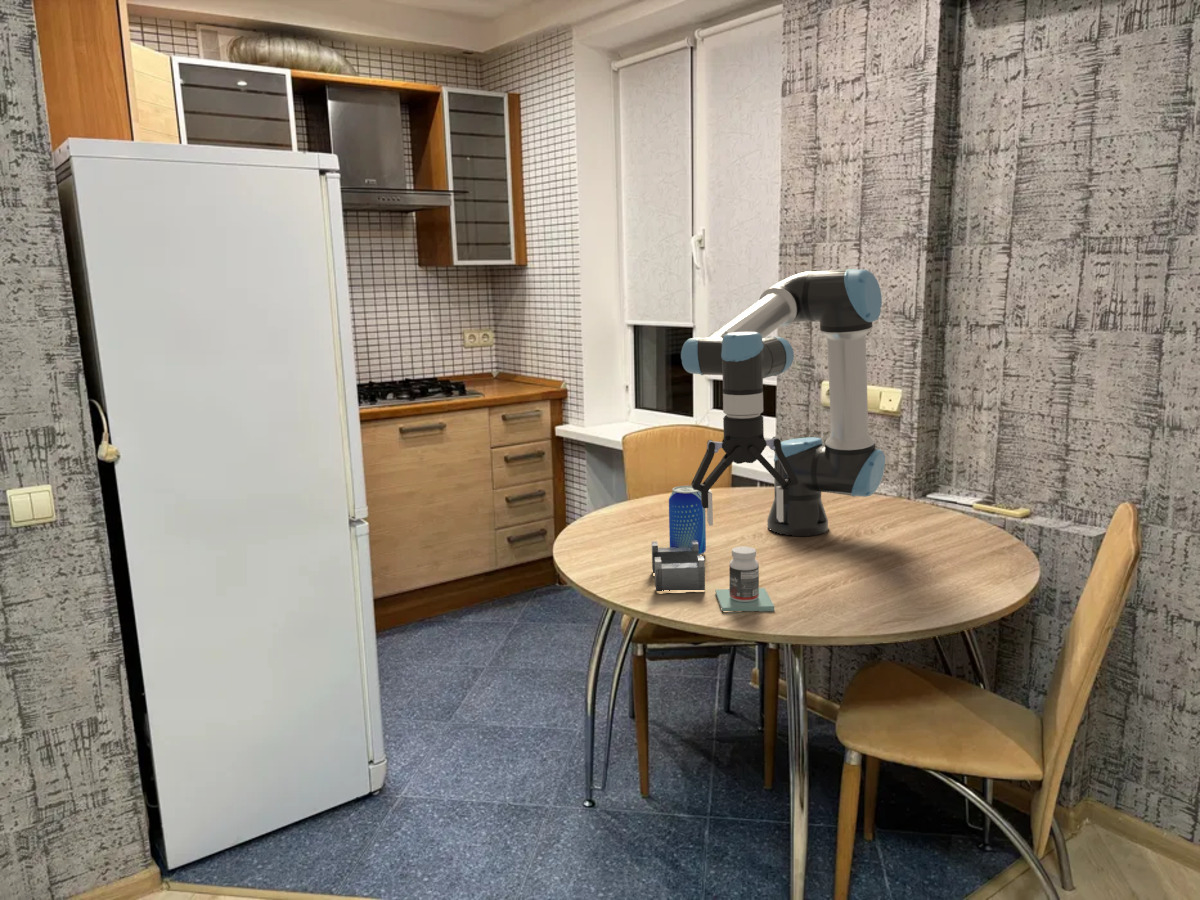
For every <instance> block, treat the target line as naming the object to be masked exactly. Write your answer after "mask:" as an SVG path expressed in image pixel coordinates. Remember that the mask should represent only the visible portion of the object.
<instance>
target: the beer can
mask: <svg viewBox="0 0 1200 900" xmlns="http://www.w3.org/2000/svg"><path fill="white" fill-rule="evenodd" d="M671 490H672V492H671V494H670V496H669V497H668V524H669V525H668V528H669V530H668V531H669V548H670V547H692V540H697V541H698V544H699V556H700V555H702V554H703V555H704V554H705V553H706V550H707V538H706V537H707V534H706V533H707V532H706V528H707V527H706V525H707V524H706V522H707V520H706V508H703V507H702V504H701V491H699V490H694V489H693V487H692V485H679V486H675V487H673V488H672V489H671Z"/></svg>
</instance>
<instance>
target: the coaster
mask: <svg viewBox="0 0 1200 900" xmlns="http://www.w3.org/2000/svg"><path fill="white" fill-rule="evenodd" d="M715 592H716V594H715V596H716V595H717V597H716V599H717V598H718V600H717V602H718V601H719V602H718V604H719V603H720V605H719V607H720V606H721V608H722V610H721V612H722V611H759V612H775V605H774V602H773V601H772V599H771V598H770V596H769V594H768V592H767V590H766V588H765V587H759V597H758V599H757V600H755V601H752V602H738V601H735V600H733V599H731V597H730V588H729V589H728V588H725V589H723V588H722V589H720V588H719V589H715ZM715 592H714V593H715ZM721 608H720V609H721Z"/></svg>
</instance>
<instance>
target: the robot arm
mask: <svg viewBox="0 0 1200 900" xmlns="http://www.w3.org/2000/svg"><path fill="white" fill-rule="evenodd" d="M882 300H883V299H882V292H881V286H880V284H879V282H878V279H877V278H876V276H875V274H874V273H872V272H871V271H870V270H868V269H861V268H860V269H858V268H857V269H856V268H845V269H832V270H831V269H830V270H816V271H815V270H807V271H801V272H800V273H796V274H793V275H791V276H789V277H786V278H785V279H782V280H780V281H778V282H777V283H774V284H773V285H771V286H770V287H768V288H767V289H766V290H764V291H763V292H762V294H761V295H760V296H759V299H758V300H757V301H756V302H755V303H753V304H751V306H749V307H747V309H745V310H744V311H742V312H740V313H739V314H738V315H736V316H735V317H734V318H733V319H730V320H729V321H728V322H726V323H725V324H724V325H722V326H721V327H719V328H718V329H716V330H715V331H714V332H712V333H711V334H709V335H708V336H706V337H699V336H697V337H692V338H691V337H690V338H688V339H687V340H685V341H684V343H683V345H682V347H681V352H680V359H681V364H682V367H683V369H684V370H685V371H686V372H687V373H689V374H694V375H695V374H696V375H700V376H705V375H708V376H722V403H723V404H722V411H723V414H725V415H724V416H723V421H722V422H723V426H722V427H723V438H722V441H713V440H712V439H708V440H707V442H706V443H707V444H706V451H705V453H704V456H703V458H702V460H701V462H700V464H699V466H698V468H697V470H696V473H695V475H694V477H693V479H692V481H691V485H690V486H692V487H693V489H694V490H699V491H701V504H702V507H703V508H705V509H706V519H707V520H706V522H707V525H708V526H709V527H710V526H711V527H712V526H714V512H713V508H714V507H713V492H712V490H711V488H712V487H713V486H714V484H715V483H716V482H717V481H718V480H719V478H721V476H722V475H723V474H724V472H725V471H726V470H727V468H729V467H730V466H731V465H732V463H735V464H738V465H739V464H743V463H746V464H753V463H755V462H756V461H758V462H759V463H760V464H761V465H762V466H763V468H764V469H765V470H766V471H767V472H768V473H769V474H770V476H772V477H773V479H774V480H773V481H774V484H773V485H774V486H773V487H774V497H773V498H774V499H773V502H772V506H771V507H770V511H769V513H768V517H767V523H766V525H767V526H768V527H767V529H768V528H769V529H771V530H772V531H774V532H773V533H775V532H777V533H776V534H778V533H781V534H780V535H782V534H785V536H789V535H792V537H793V536H794V537H810V536H811V537H812V536H818V535H823V534H824V533H826V532H827V531H829V520H828V517H827V516H828V515H827V514H826V510H825V507H824V504H823V502H822V500H823V499H822V492H823V493H829V494H836V495H844V496H851V497H854V498H855V497H865V498H867V497H871V496H873V494H875V492H876V491H878V488H879V486H880V485H881V482H882V479H883V476H884V472H885V466H886V456H885V453H884V451H883V450H881V449H880V448H877V449H876V439H875V438H874V437H873V436H871V435H870V433H869V407H868V404H869V403H868V371H867V370H868V368H867V334H868V333H870V331H872V329H873V323H874V322H875V321H877V320H878V319H879V318H880V316H881V312H882V310H881V308H882V306H883V305H882V303H883V302H882ZM797 322H799V323H800V322H819V330H820V332H821V333H822V334H823V335H824V336H825V337H826V342H827V365H828V366H827V367H828V389H829V390H828V391H829V392H828V393H829V415H830V416H829V417H830V436H829V437H827V438H826V440H825V441H824V442H823V440H822V438H821V437H817V436H816V437H815V436H811V437H798V438H791V439H787V440H783V441H781V439H779V437H777V436H773V437H772V438H768V439H765V435H764V431H765V430H764V416H763V415H762V413H764V386H763V385H764V379H766V378H769V377H777V376H778V375H780V374H783V373H785V372H787V370H789V368H790V367H791V366H792V364H793V362H794V360H795V359H794V358H795V357H794V356H795V355H794V353H795V352H794V348H793V346H792V345H791V342H789V341H788V340H787V339H785V338H783V337H780V336H769V335H770V334H772V333H774V332H775V331H776V330H777V329H778V328H785V327H787V326H789V325H791V324H793V323H797ZM767 446H768V447H769V449H770V450H771V451H773V452H774V457H773V458H774V459H773V462H774V464H771V463H770V462H769V461H768V460H767V459H766V458H765V456H764V455H763V454H762V453H763V452H764V451H765V448H766V447H767ZM720 449H722V450H723V451H724V453H725V454H724V456H722V458H721V459H720V461H719V462H718V464H717V465H716V466H715V467H714V469H713V470H712V471H711V472H710V474H709V475H707V477H706V478H705V475H706V474H707V472H708V470H709V467H710V466H711V463H712V460H713V459H714V456H715V454H717V453H718V452H719V450H720ZM773 465H774V466H773ZM704 478H705V480H704ZM703 480H704V481H703ZM769 529H768V530H769ZM772 531H771V532H772Z"/></svg>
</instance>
